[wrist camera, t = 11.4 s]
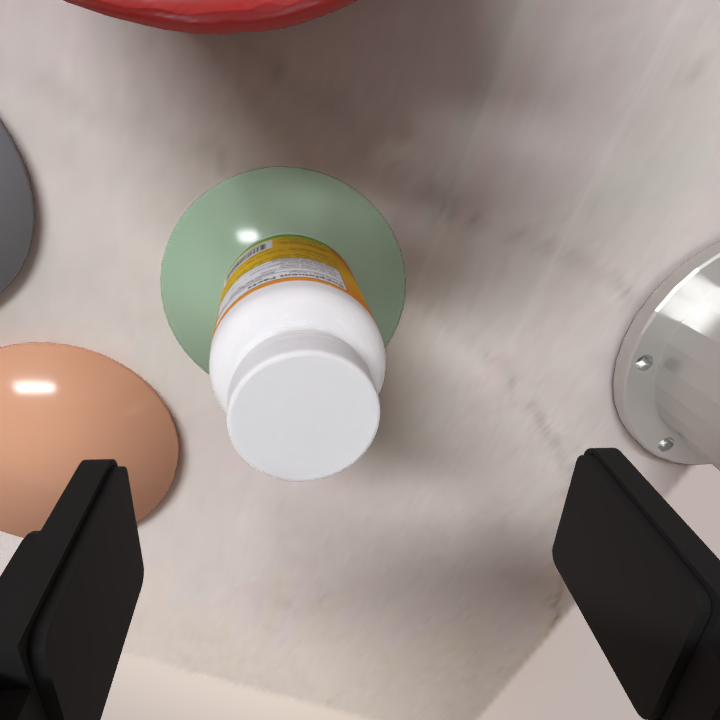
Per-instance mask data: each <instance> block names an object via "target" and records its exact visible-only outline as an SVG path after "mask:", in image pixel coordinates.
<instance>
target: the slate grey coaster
mask: <svg viewBox="0 0 720 720" xmlns="http://www.w3.org/2000/svg"><path fill="white" fill-rule="evenodd" d="M34 216H35V214H34V202H33V194H32V189H31V185H30V180H29V176H28V173H27V170H26V168H25V165H24V162H23V159H22V157H21V155H20V153H19V151H18V149H17V147H16V145H15V142H14V140H13V138H12V137H11V135H10V134H9V132H8V130H7V129H6V127H5V126H4V124H3V123H2V121H1V119H0V292H2V291H3V290H4V289H5V288H6V287H7V286H8V285H9V284H10V282H11V281H12V280H13V279H14V278H15V277H16V275H17V273H18V272H19V270H20V269H21V267H22V265H23V264H24V261H25V259H26V257H27V254H28V252H29V249H30V245H31V241H32V236H33V231H34Z"/></svg>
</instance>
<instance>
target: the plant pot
mask: <svg viewBox="0 0 720 720" xmlns="http://www.w3.org/2000/svg"><path fill="white" fill-rule="evenodd" d="M64 1H66V2H68V3H71V4H74V5H77V6H80V7H83V8H86V9H89V10H92V11H95V12H98V13H101V14H104V15H107V16H110V17H114V18H118V19H122V20H126V21H130V22H134V23H138V24H142V25H146V26H151V27H156V28H161V29H166V30H174V31H181V32H189V33H236V32H253V31H267V30H273V29H279V28H285V27H289V26H293V25H297V24H301V23H304V22H306V21H309V20H312V19H314V18H317V17H320V16H323V15H325V14H328V13H331V12H333V11H336V10H338V9H340V8H343V7H345V6H347V5H349V4H351V3H353V2H355V1H356V0H64Z"/></svg>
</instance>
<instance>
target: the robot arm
mask: <svg viewBox="0 0 720 720" xmlns="http://www.w3.org/2000/svg"><path fill="white" fill-rule="evenodd" d="M613 387H614V402H615V405H616V408H617V411H618V414H619V418H620V420H621V421H622V423H623V424H624V426H625V428H626V429H627V431H628V432H629V433H630V434H631V435H632V436H633V437H634V438H635V439H636V440H637V441H638V442H639V443H640V444H641V445H642V446H643V447H644V448H645V449H647V450H648V451H650V452H651V453H652V454H654V455H655V456H657V457H660V458H663V459H665V460H668V461H671V462H674V463H681V464H689V465H699V464H713V465H714V466H715V467H716V468H717V469H719V470H720V241H719V242H717V243H715V244H713V245H712V246H710V247H708V248H706V249H705V250H703V251H701V252H699V253H698V254H696V255H694V256H693V257H692V258H691V259H689V260H688V261H687V262H685V263H684V264H683V265H682V266H680V267H679V268H678V269H676V270H675V271H674V272H673V273H672V274H671V275H670V276H669V277H668V278H667V279H666V280H665V281H664V282H663V283H662V284H661V285H660V286H659V287H658V288H657V289H656V290H655V291H654V292H653V293H652V294H651V296H650V297H649V299H648V300H647V301H646V303H645V304H644V305H643V307H642V308H641V309H640V311H639V312H638V313H637V315H636V317H635V318H634V320H633V322H632V324H631V326H630V328H629V330H628V332H627V334H626V335H625V337H624V340H623V343H622V346H621V349H620V352H619V354H618V357H617V360H616V367H615V373H614V380H613ZM552 553H553V560H554V563H555V565H556V567H557V569H558V571H559V573H560V575H561V576H562V578H563V580H564V582H565V584H566V585H567V587H568V589H569V591H570V593H571V594H572V596H573V598H574V600H575V602H576V603H577V605H578V607H579V609H580V611H581V612H582V614H583V616H584V618H585V620H586V622H587V623H588V625H589V627H590V629H591V630H592V632H593V634H594V636H595V638H596V640H597V641H598V643H599V645H600V647H601V649H602V650H603V652H604V654H605V656H606V657H607V659H608V661H609V663H610V665H611V667H612V668H613V670H614V672H615V674H616V676H617V677H618V679H619V681H620V683H621V685H622V686H623V688H624V690H625V692H626V693H627V696H628V697H629V699H630V701H631V702H632V705H633V706H634V708H635V710H636V711H637V713H638V714H639V715H640V716H641V717H642V718H643V719H646V720H647V719H648V720H720V560H719V559H718V558H717V557H716V555H715V554H714V553H713V552H712V551H711V550H710V549H709V548H708V547H707V546H706V545H705V544H704V542H703V541H702V540H701V539H700V538H699V537H698V536H697V535H696V534H695V532H694V531H693V530H692V529H691V528H690V527H689V526H688V525H687V524H686V523H685V522H684V520H683V519H682V518H681V517H680V516H679V515H678V514H677V513H676V512H675V511H674V510H673V508H672V507H671V506H670V505H669V504H668V503H667V502H666V501H665V500H664V499H663V497H662V496H661V495H660V494H659V493H658V492H657V491H656V490H655V489H654V488H653V486H652V485H651V484H650V483H649V482H648V481H647V480H646V479H645V478H644V477H643V476H642V474H641V473H640V472H639V471H638V470H637V469H636V468H635V467H634V466H633V465H632V463H631V462H630V461H629V460H628V459H627V458H626V457H625V456H624V455H623V454H622V453H621V451H619V450H618V449H616V448H590V449H587V450H586V451H585V453H584V455H581V456H579V457H578V459H577V461H576V465H575V468H574V472H573V476H572V479H571V483H570V487H569V490H568V494H567V497H566V501H565V505H564V508H563V512H562V516H561V519H560V523H559V527H558V530H557V534H556V537H555V541H554V545H553V550H552ZM143 576H144V566H143V560H142V554H141V548H140V542H139V536H138V530H137V524H136V518H135V512H134V506H133V500H132V494H131V488H130V482H129V476H128V471H127V468H126V467H125V466H118V464H117V462H116V460H114V459H90V460H83V461H81V463H80V464H79V466H78V467H77V469H76V471H75V472H74V474H73V476H72V478H71V479H70V481H69V483H68V484H67V486H66V488H65V490H64V491H63V493H62V495H61V497H60V498H59V500H58V502H57V503H56V505H55V507H54V509H53V510H52V512H51V514H50V515H49V517H48V519H47V521H46V522H45V524H44V526H43V527H42V529H41V531H32V532H30V533H29V534H27V535H26V537H25V538H24V539H23V540H22V542H21V544H20V545H19V547H18V548H17V550H16V552H15V553H14V555H13V557H12V558H11V560H10V562H9V563H8V565H7V566H6V568H5V570H4V571H3V573H2V575H1V576H0V720H100V719H101V716H102V713H103V710H104V706H105V703H106V700H107V697H108V693H109V690H110V687H111V684H112V681H113V677H114V674H115V671H116V668H117V664H118V661H119V658H120V655H121V652H122V648H123V645H124V642H125V639H126V635H127V632H128V629H129V626H130V623H131V619H132V616H133V613H134V610H135V606H136V603H137V600H138V597H139V593H140V590H141V587H142V583H143Z"/></svg>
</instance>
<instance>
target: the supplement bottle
mask: <svg viewBox="0 0 720 720" xmlns="http://www.w3.org/2000/svg"><path fill="white" fill-rule="evenodd" d="M385 372H386V353H385V348H384V343H383V340H382V337H381V334H380V332H379V329H378V326H377V324H376V322H375V320H374V318H373V316H372V314H371V312H370V310H369V307H368V305H367V303H366V301H365V299H364V297H363V295H362V293H361V291H360V289H359V286H358V284H357V282H356V280H355V278H354V276H353V274H352V272H351V270H350V268H349V267H348V265H347V263H346V262H345V260H344V259H343V258H342V257H341V255H340V254H339V253H338V252H337V251H336V250H335V249H333V248H332V247H331V246H330V245H328V244H327V243H325V242H323V241H321V240H319V239H317V238H315V237H312V236H309V235H305V234H301V233H292V232H287V233H278V234H273V235H269V236H266V237H263V238H261V239H259V240H257V241H255V242H253V243H252V244H250V245H249V246H248V247H246V248H245V249H244V250H243V251H242V252H241V253H240V254H239V255H238V256H237V257H236V259H235V260H234V262H233V263H232V265H231V266H230V268H229V270H228V273H227V275H226V278H225V281H224V284H223V289H222V294H221V299H220V304H219V309H218V314H217V318H216V323H215V328H214V333H213V337H212V343H211V350H210V359H209V373H210V380H211V385H212V389H213V392H214V394H215V396H216V399H217V401H218V403H219V405H220V406H221V408H222V409H223V411H224V412H225V414H226V415H227V417H226V419H227V429H228V433H229V436H230V440H231V442H232V443H233V445H234V447H235V449H236V450H237V452H238V453H239V455H240V456H241V457H242V458H243V459H244V460H245V461H246V462H247V463H248V464H249V465H251V466H252V467H253V468H255V469H256V470H258V471H259V472H262V473H264V474H266V475H268V476H270V477H274V478H277V479H281V480H287V481H299V482H301V481H313V480H318V479H323V478H326V477H329V476H331V475H334V474H336V473H339V472H341V471H342V470H344V469H346V468H347V467H349V466H350V465H352V464H353V463H354V462H355V461H357V460H358V459H359V458H360V457H361V456H362V455H363V454H364V453H365V452H366V450H367V449H368V448H369V446H370V444H371V443H372V441H373V439H374V437H375V435H376V432H377V429H378V427H379V421H380V401H379V396H378V395H379V393H380V391H381V388H382V385H383V382H384V378H385Z"/></svg>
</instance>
